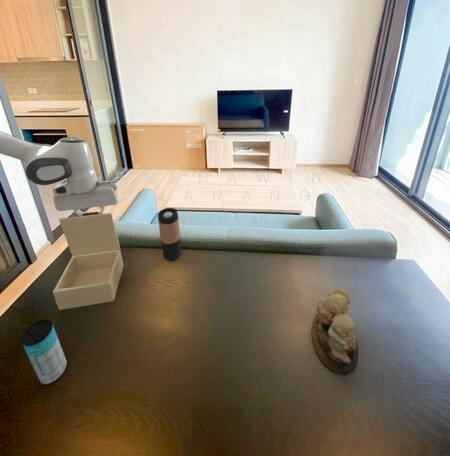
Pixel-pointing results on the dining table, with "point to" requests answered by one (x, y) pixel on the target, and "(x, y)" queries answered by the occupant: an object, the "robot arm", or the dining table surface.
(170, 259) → the travel mug
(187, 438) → the dining table surface
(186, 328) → the dining table surface
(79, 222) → the bin lid
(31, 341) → the supplement bottle
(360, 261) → the dining table surface
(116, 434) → the dining table surface
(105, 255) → the bin
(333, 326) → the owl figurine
